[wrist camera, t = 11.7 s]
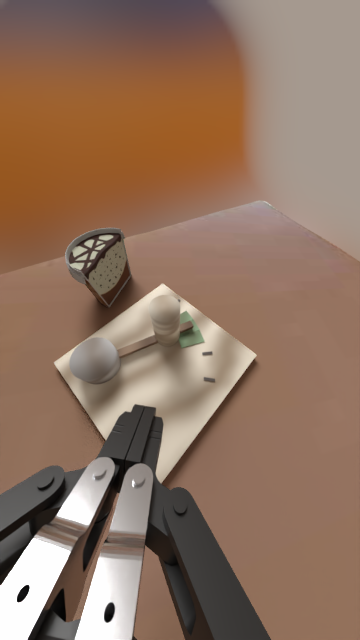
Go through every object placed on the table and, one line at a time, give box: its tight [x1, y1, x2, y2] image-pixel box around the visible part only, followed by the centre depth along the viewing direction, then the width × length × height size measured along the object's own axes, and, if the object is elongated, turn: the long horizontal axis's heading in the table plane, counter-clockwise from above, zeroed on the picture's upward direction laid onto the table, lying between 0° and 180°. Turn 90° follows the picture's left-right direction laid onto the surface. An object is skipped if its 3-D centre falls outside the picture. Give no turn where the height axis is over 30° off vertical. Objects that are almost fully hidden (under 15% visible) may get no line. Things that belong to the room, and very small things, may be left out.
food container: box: [65, 228, 131, 307], centre depth 31 cm, size 12×6×10 cm, turn 161°
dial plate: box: [54, 284, 256, 483], centre depth 27 cm, size 22×23×1 cm
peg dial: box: [69, 295, 194, 384], centre depth 23 cm, size 18×6×8 cm, turn 115°
